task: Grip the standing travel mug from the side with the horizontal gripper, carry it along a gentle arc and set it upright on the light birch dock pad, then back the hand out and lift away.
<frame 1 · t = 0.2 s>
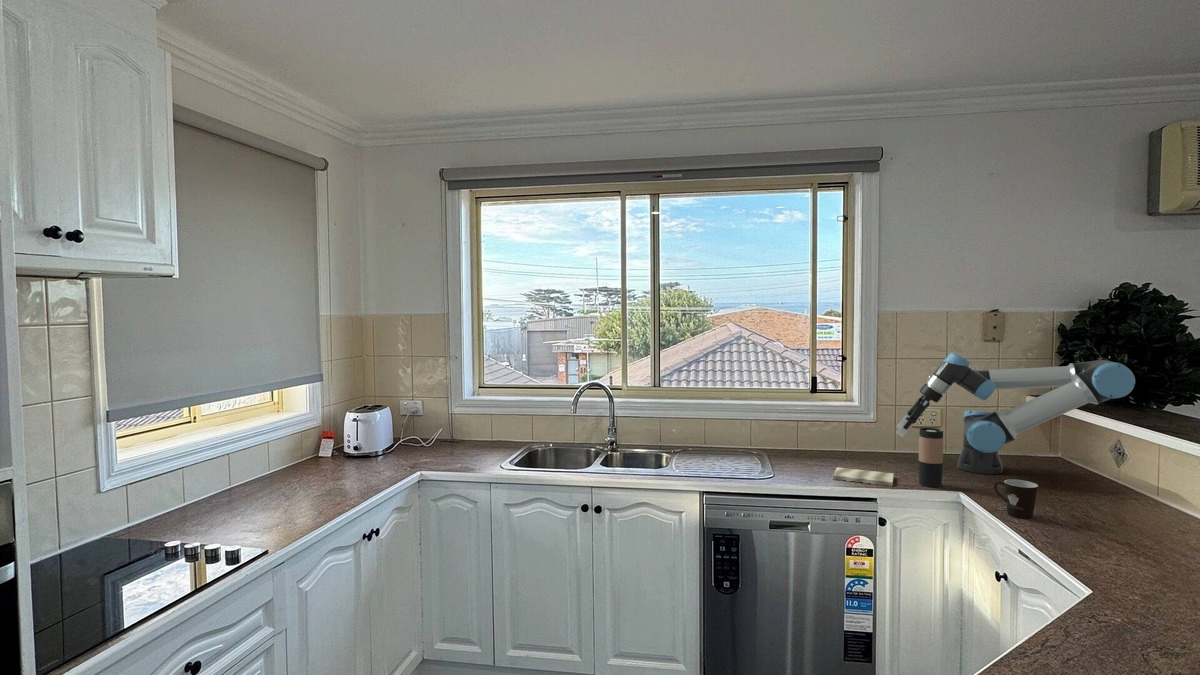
hand: (899, 432, 241), 15 cm above the worktop, tool tilted 35°, fingers open, 13 cm apart
travel mug: (930, 485, 220), on the worktop
coffee mug: (1016, 514, 190), on the worktop
dock pad: (863, 478, 229), on the worktop
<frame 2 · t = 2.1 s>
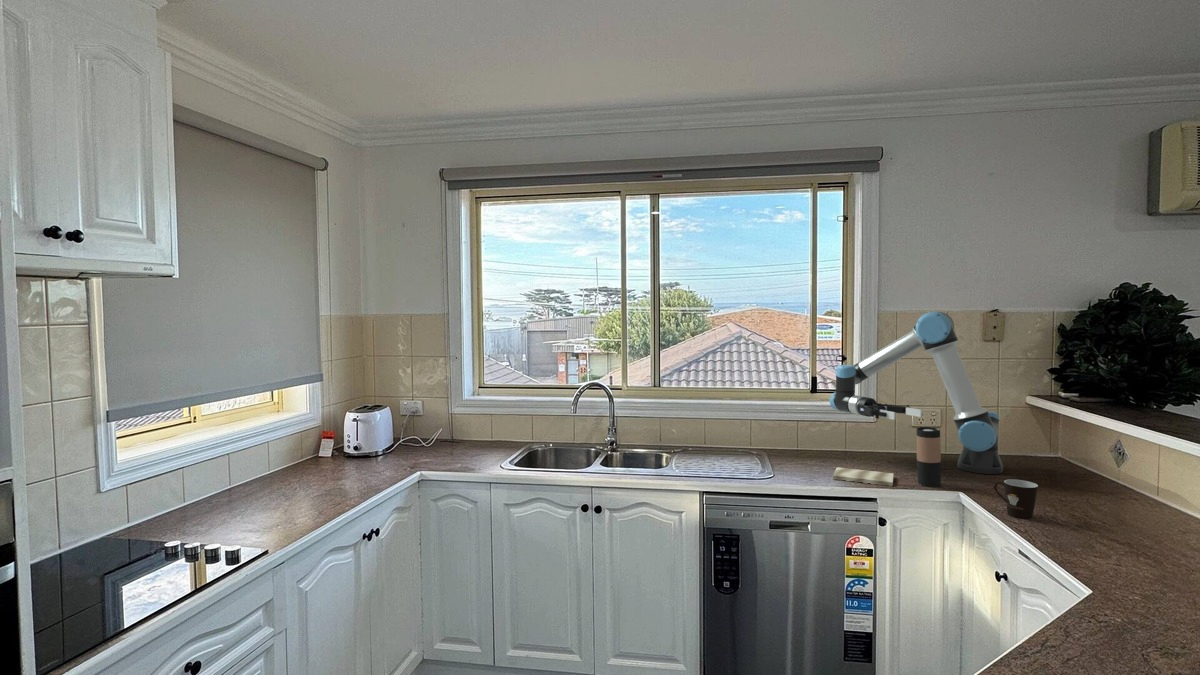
hand: (908, 414, 228), 24 cm above the worktop, tool horizontal, fingers open, 13 cm apart
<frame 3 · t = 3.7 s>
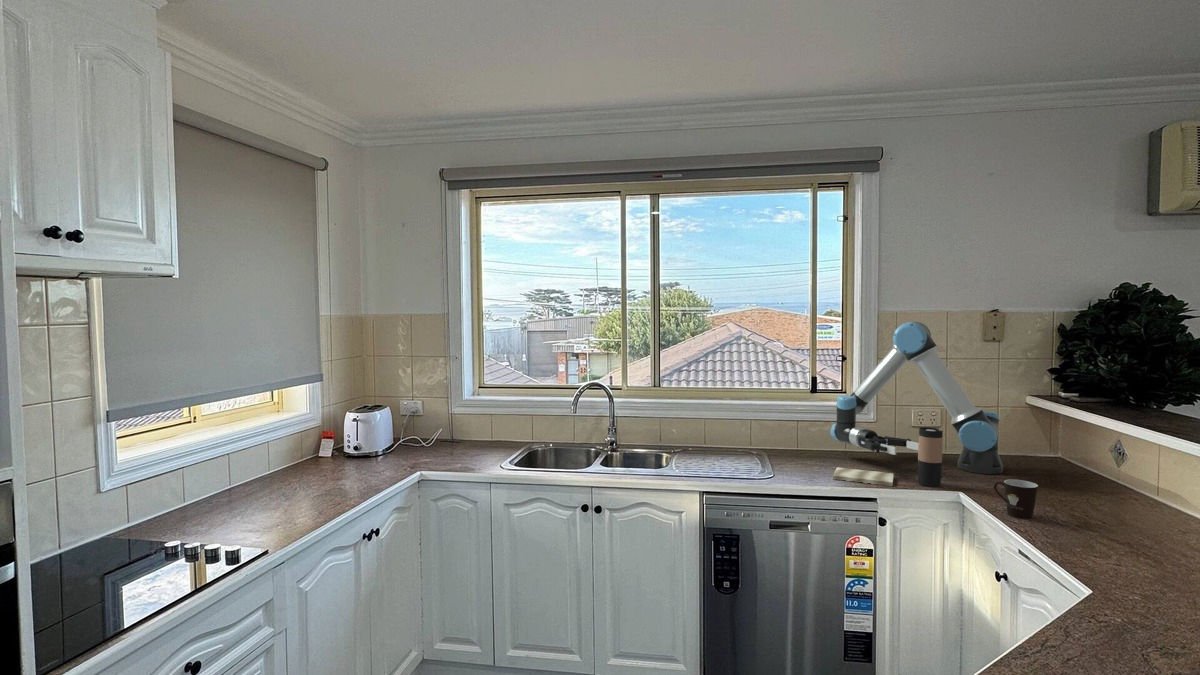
hand: (909, 449, 228), 11 cm above the worktop, tool horizontal, fingers open, 13 cm apart
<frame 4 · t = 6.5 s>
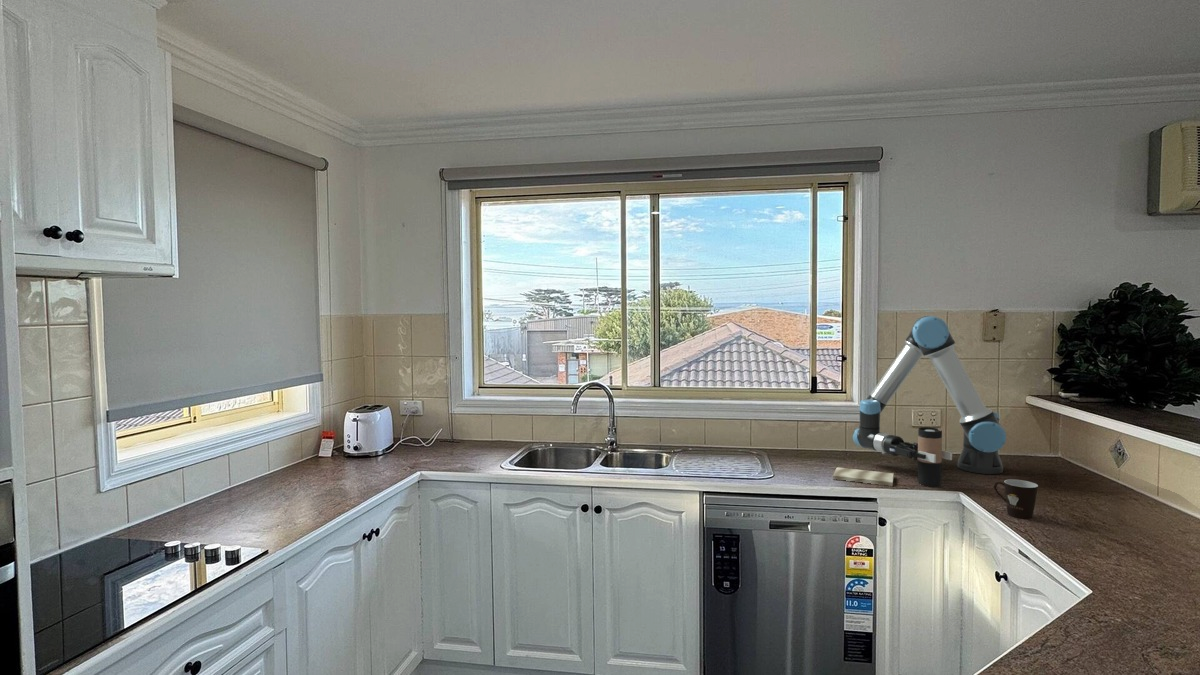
hand: (943, 457, 215), 11 cm above the worktop, tool horizontal, fingers closed on travel mug, 7 cm apart
travel mug: (929, 484, 221), on the worktop, touching gripper
everything else where it was.
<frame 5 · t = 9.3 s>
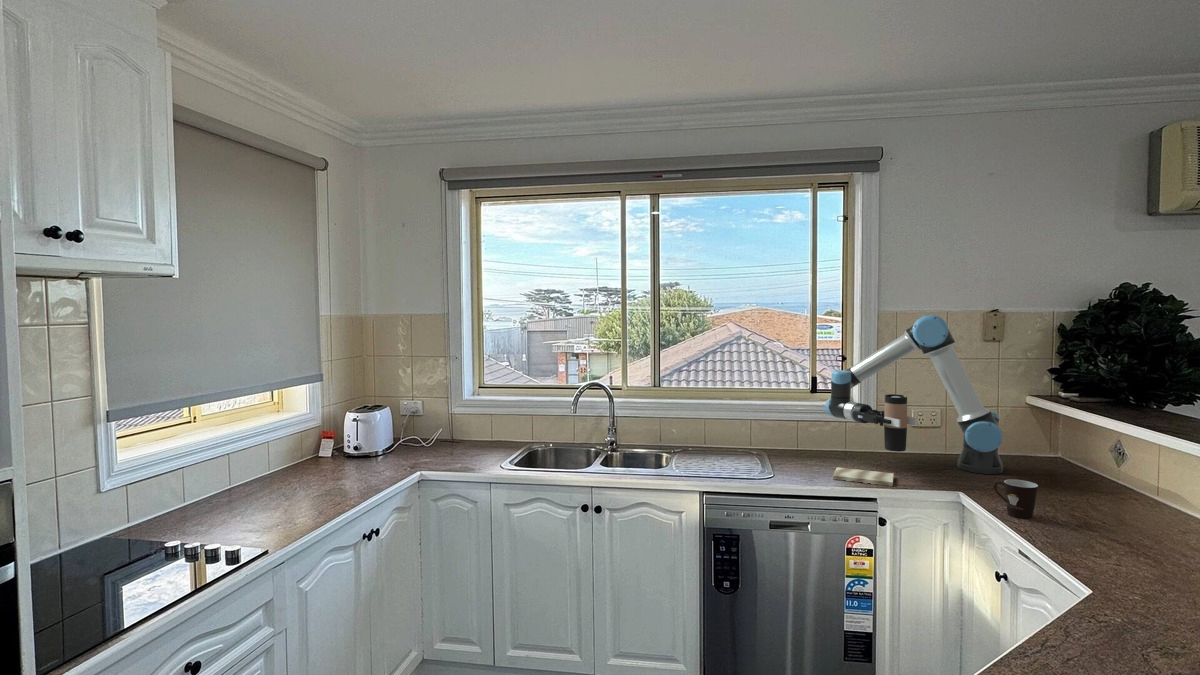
hand: (907, 422, 222), 22 cm above the worktop, tool horizontal, fingers closed on travel mug, 7 cm apart
travel mug: (895, 449, 228), point 11 cm above the worktop, touching gripper
everything else where it was.
when the fingers open (14 cm above the worktop, at t = 12.1 s): travel mug drops 2 cm, resting on dock pad.
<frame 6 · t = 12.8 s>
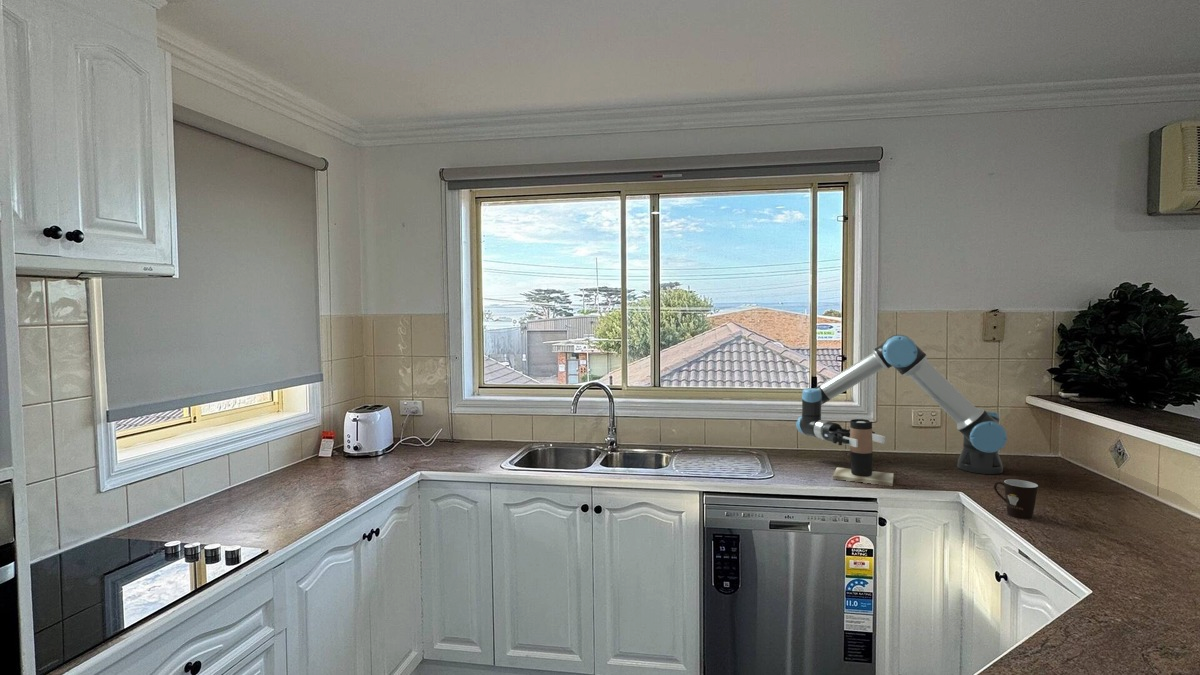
hand: (871, 441, 225), 14 cm above the worktop, tool horizontal, fingers open, 13 cm apart
travel mug: (861, 474, 229), point 1 cm above the worktop, touching dock pad
everything else where it was.
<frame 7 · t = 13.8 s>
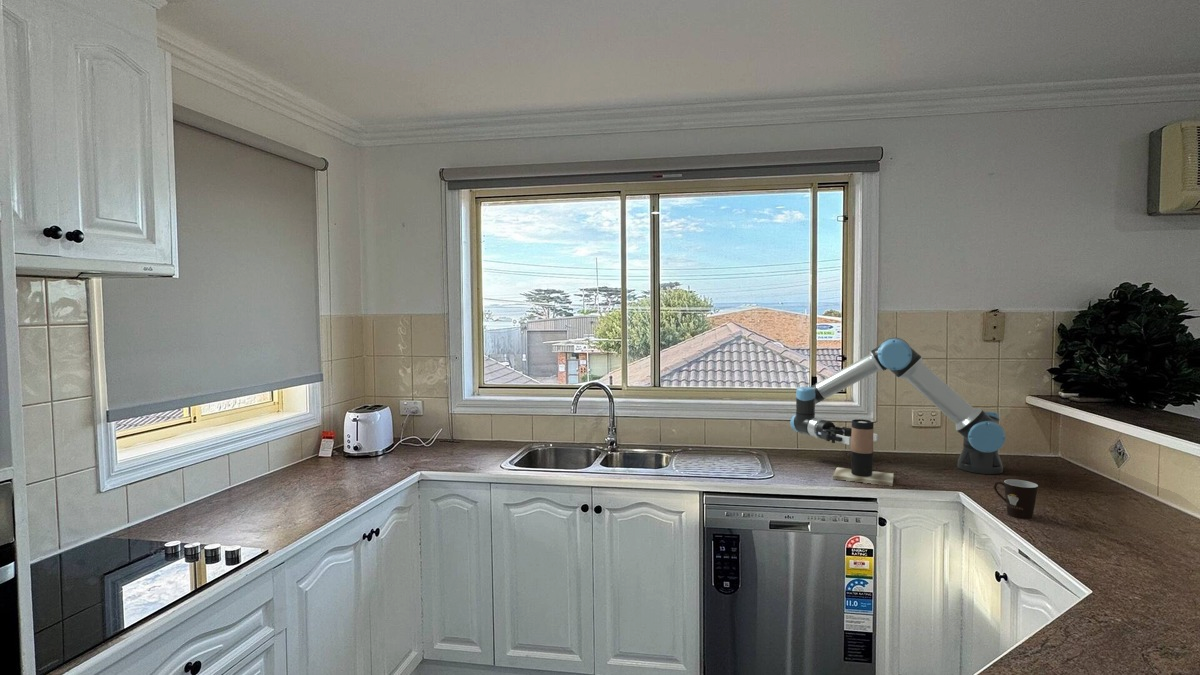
hand: (863, 439, 228), 15 cm above the worktop, tool horizontal, fingers open, 13 cm apart
nothing on the worktop moved.
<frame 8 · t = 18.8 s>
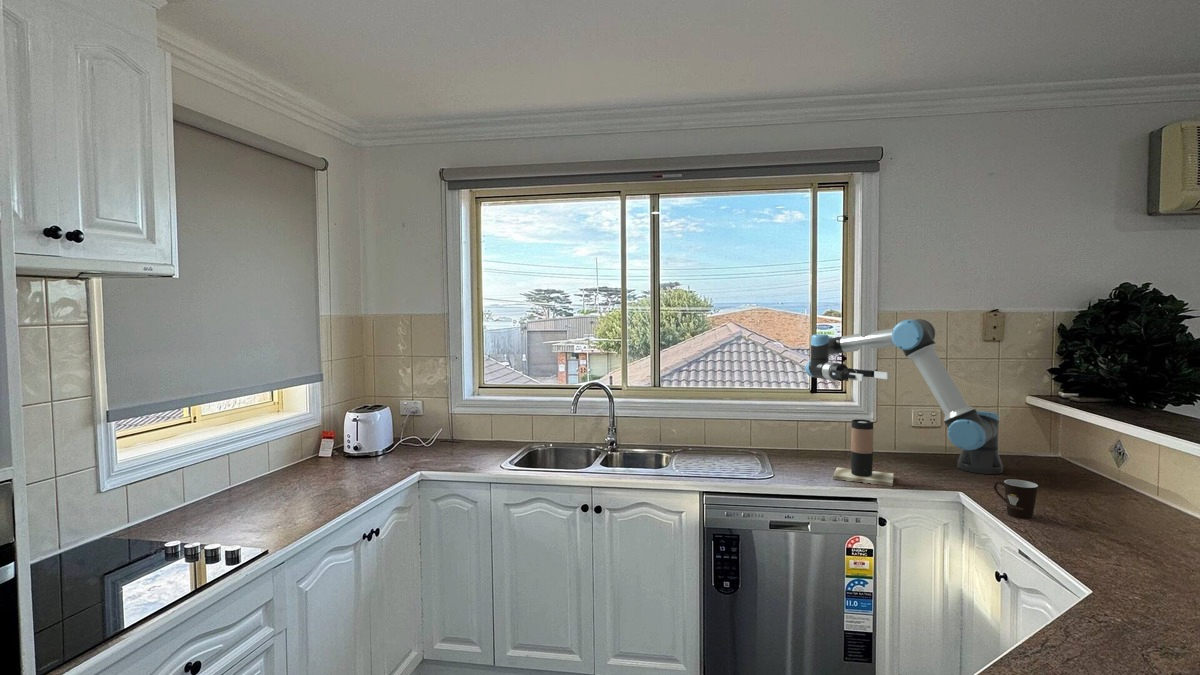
hand: (875, 376, 245), 36 cm above the worktop, tool horizontal, fingers open, 13 cm apart
nothing on the worktop moved.
at the end: travel mug inside the target area on the dock pad (0.7 cm from its centre), point 1.3 cm above the dock pad's base; travel mug tilted 0°; the gripper is holding nothing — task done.
